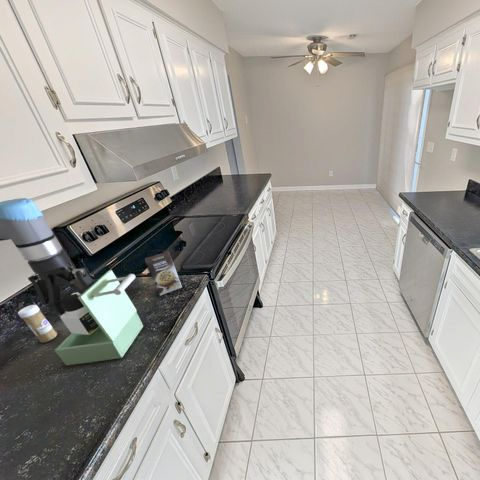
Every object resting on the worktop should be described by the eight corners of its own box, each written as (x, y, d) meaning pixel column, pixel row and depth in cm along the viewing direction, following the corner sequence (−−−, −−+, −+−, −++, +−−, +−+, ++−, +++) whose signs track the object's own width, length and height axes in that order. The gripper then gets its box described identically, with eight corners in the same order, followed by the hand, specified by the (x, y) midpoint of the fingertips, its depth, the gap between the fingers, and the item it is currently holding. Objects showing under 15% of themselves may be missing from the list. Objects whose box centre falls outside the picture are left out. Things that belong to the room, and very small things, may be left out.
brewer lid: (77, 297, 69) (110, 291, 69) (108, 270, 81) (136, 265, 81) (110, 342, 77) (140, 336, 77) (134, 311, 89) (159, 306, 89)
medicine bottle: (90, 335, 78) (69, 305, 72) (70, 333, 79) (49, 303, 73) (110, 318, 84) (93, 289, 78) (92, 317, 85) (74, 288, 80)
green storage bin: (66, 365, 79) (54, 350, 76) (95, 332, 91) (86, 318, 88) (122, 358, 80) (112, 342, 77) (143, 326, 92) (136, 311, 89)
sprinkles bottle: (54, 339, 89) (32, 310, 83) (37, 345, 87) (14, 315, 81) (59, 331, 93) (39, 302, 87) (43, 335, 91) (21, 307, 85)
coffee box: (159, 296, 107) (145, 264, 100) (157, 289, 112) (144, 257, 105) (182, 287, 112) (170, 256, 104) (180, 281, 117) (168, 250, 109)
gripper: (95, 244, 74) (127, 304, 84) (17, 252, 72) (59, 313, 82) (76, 257, 67) (113, 321, 77) (-11, 266, 65) (39, 330, 76)
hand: (85, 317), depth 80 cm, fingers closed on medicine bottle, 8 cm apart
